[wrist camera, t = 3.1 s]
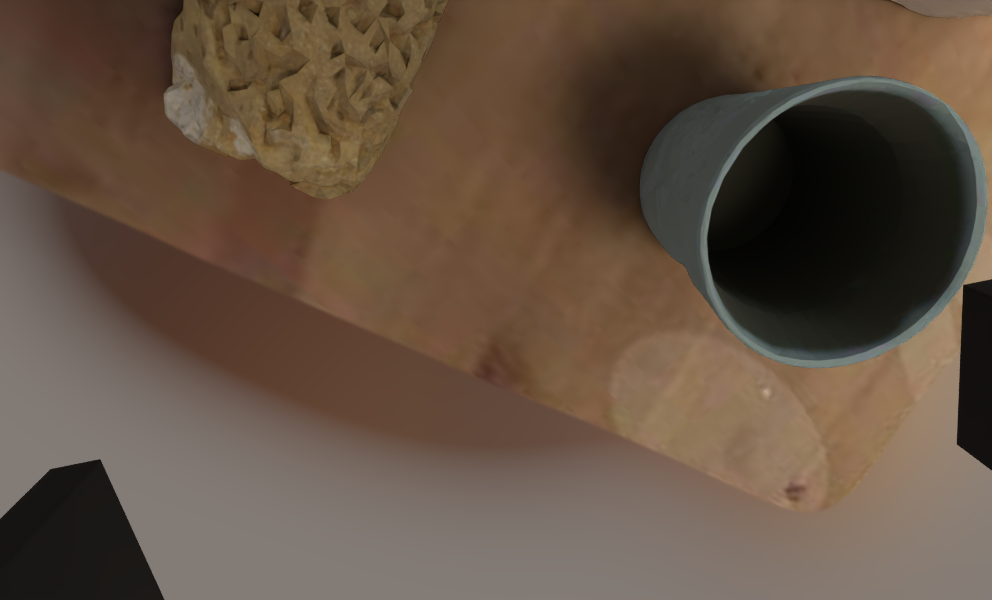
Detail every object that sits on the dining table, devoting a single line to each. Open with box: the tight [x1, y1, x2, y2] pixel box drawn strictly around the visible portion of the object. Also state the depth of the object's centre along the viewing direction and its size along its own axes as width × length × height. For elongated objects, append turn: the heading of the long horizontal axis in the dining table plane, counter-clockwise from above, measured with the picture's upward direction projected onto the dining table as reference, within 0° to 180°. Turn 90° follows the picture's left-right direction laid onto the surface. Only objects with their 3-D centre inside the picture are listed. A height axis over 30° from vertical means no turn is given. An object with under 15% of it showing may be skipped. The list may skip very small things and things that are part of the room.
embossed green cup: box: [640, 76, 987, 368], centre depth 29 cm, size 10×10×12 cm
